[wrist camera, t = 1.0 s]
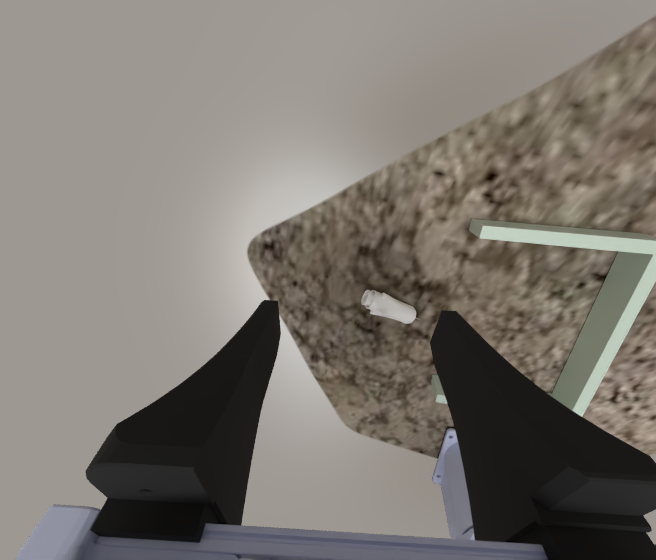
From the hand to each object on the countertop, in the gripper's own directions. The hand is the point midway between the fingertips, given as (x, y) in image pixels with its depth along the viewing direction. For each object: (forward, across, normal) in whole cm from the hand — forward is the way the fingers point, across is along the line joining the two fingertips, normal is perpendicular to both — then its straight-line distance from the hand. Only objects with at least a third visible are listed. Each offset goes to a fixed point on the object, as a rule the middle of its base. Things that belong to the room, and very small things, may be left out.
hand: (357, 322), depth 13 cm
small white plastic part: (+13, -5, +10) cm, 17 cm away
